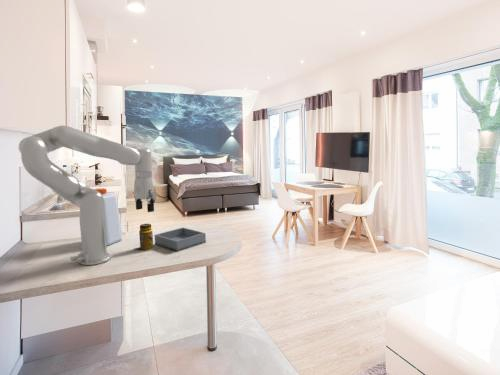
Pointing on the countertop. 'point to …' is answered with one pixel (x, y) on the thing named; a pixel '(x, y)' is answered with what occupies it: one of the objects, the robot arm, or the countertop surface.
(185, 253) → the countertop surface
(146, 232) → the condiment
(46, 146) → the robot arm
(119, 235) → the plastic bottle
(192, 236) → the open bin
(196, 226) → the countertop surface
